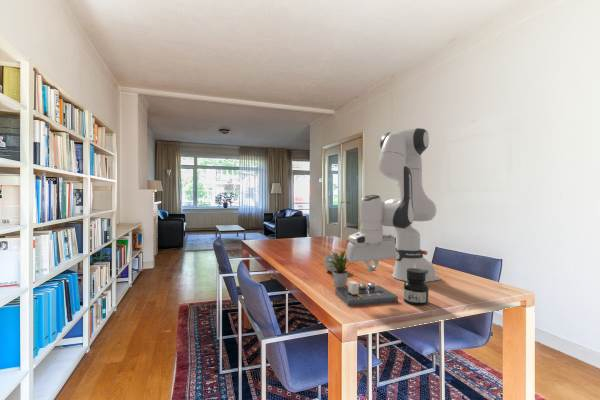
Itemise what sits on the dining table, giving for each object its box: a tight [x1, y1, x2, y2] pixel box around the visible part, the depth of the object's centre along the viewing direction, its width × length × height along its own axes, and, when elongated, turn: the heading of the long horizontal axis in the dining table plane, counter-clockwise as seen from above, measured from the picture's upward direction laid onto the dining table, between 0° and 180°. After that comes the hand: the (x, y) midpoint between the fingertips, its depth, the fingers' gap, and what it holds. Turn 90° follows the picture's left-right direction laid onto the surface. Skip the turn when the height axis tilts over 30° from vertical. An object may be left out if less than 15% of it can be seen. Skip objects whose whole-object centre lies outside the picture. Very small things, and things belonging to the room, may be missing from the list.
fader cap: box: [347, 280, 359, 294], centre depth 117 cm, size 2×4×4 cm, turn 13°
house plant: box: [326, 249, 354, 288], centre depth 135 cm, size 14×14×16 cm
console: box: [334, 282, 399, 307], centre depth 118 cm, size 20×14×4 cm
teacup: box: [324, 253, 345, 273], centre depth 157 cm, size 14×11×8 cm
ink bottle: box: [402, 268, 430, 306], centre depth 114 cm, size 10×9×12 cm
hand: (371, 270), depth 119 cm, fingers closed
